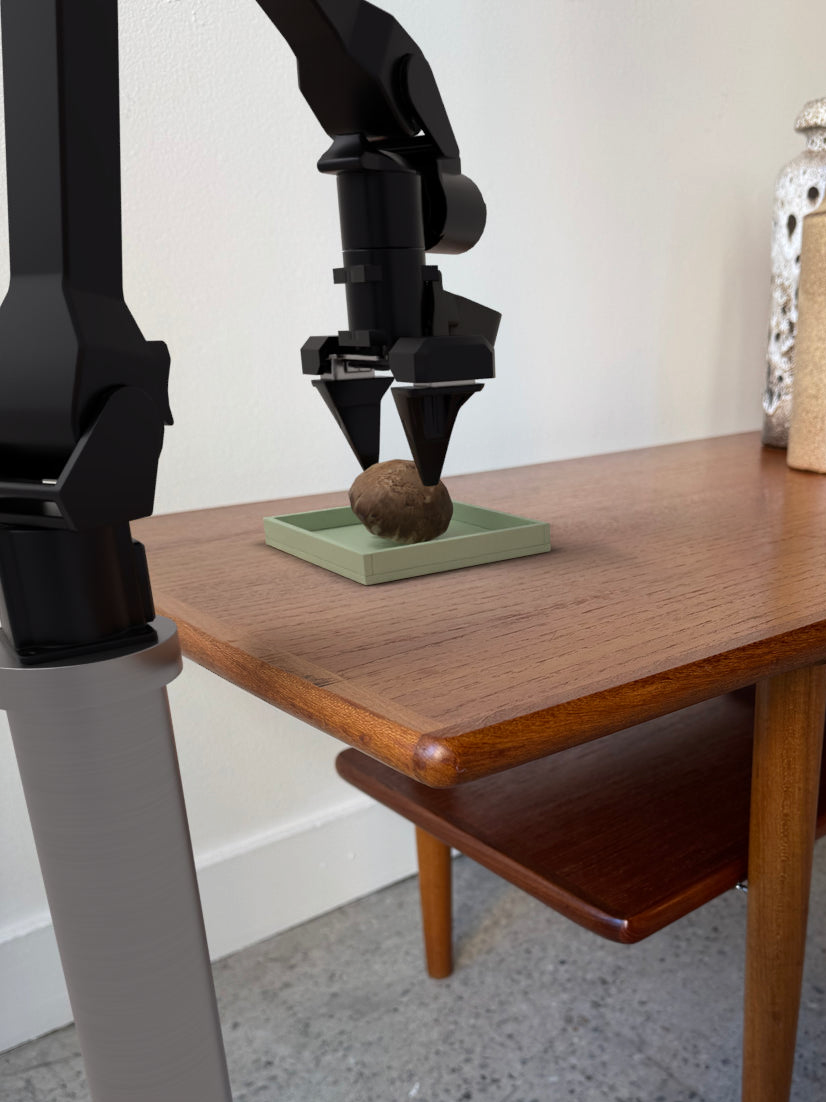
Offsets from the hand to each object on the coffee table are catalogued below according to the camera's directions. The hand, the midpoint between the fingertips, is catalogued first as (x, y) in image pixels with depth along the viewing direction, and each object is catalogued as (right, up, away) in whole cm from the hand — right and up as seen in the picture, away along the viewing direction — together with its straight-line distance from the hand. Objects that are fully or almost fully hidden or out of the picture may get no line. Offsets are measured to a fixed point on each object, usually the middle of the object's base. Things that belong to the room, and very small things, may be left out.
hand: (399, 478), depth 78 cm
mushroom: (0, -5, +1) cm, 5 cm away
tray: (0, -5, +2) cm, 5 cm away
